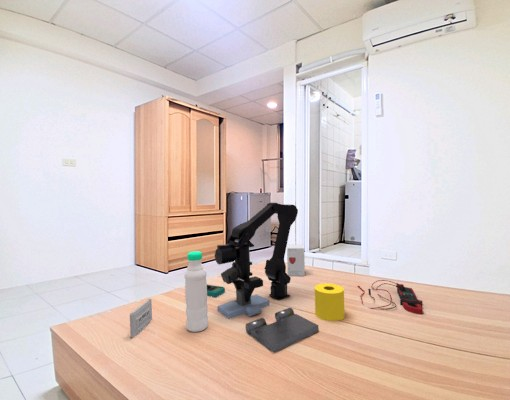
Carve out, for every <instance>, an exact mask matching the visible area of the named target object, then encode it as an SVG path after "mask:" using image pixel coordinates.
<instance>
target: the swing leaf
mask: <svg viewBox="0 0 510 400" xmlns="http://www.w3.org/2000/svg"><path fill="white" fill-rule="evenodd" d="M235 296H236V297H235V299H236V300H234V301H229V302H226V303H222V304H220V305H217V312H219V313H220V314H221V313H222V314H221V315H222V316H224V317H225V316H226V318H227V320H231V319H233V318H236V317H240V316H243V315H246V316H247V317H248V318H249V317H252V316H256V315H257V314H261V313H262V309H263V308H266V307H269V306H270V299H267V298H266V297H263V296H262V295H261V296H260V295H259V294H257V293H256V294H254V295H253V294H252V295H251V297H250V300H249V302H246V301H245V295H244V289H243V288H242V289H238V290H236V289H235ZM230 318H231V319H230Z"/></svg>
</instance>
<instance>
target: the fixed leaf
mask: <svg viewBox="0 0 510 400" xmlns="http://www.w3.org/2000/svg"><path fill="white" fill-rule="evenodd" d="M274 318H275V321H274V322H272V323H269V324H267V320H266V318H264V317H260V318H258V319H255V320H252V321H250V322H246V323H245V331H246V333H247V334H248V335H250V336H251V337H252V338H253V339H255V341H257V342H258V343H260V344H261V345H263V346H264V347H265V348H267V350H269V351H270V352H272V353H274V354H275V353H277V352H279V351H280V350H284V349H286V348H287V347H289V346H291V345H293V344H296V343H298V342H300V341H302V340H304V339H306V338H308V337H310V336H312V335H314V334H316V333H319V332H320V330H319V324H317V323H315V322H313V321H311V320H309V319H307V318H305V317H303V316H302V315H299V314H297V313H295V311H294V309H293V308H292V307H288V308H285V309H282V310H280V311H277V312H275V313H274Z"/></svg>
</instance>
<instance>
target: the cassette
mask: <svg viewBox="0 0 510 400" xmlns="http://www.w3.org/2000/svg"><path fill="white" fill-rule="evenodd" d="M152 303H153V302H152V298H148V299H147V300H146V301H145V302H143V303H142V304H141V305H139V306H138V307H137V308H136V309H134V310H133V311H132V312H130V313H129V327H130V328H129V330H130V331H129V332H130V333H129V335H130V338H131V339H134V338H135V337H136V336H138V335H139V334H140V333H141V332H142V331H143V330H144V329H145V328H146V327H148V325H150V324H151V322H152V321H153V309H152V308H153V307H152V305H153V304H152ZM151 320H152V321H151ZM150 321H151V322H150ZM149 323H150V324H149Z"/></svg>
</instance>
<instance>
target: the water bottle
mask: <svg viewBox="0 0 510 400" xmlns="http://www.w3.org/2000/svg"><path fill="white" fill-rule="evenodd" d="M202 261H203V253H202V251H198V250H197V251H196V250H195V251H190V252H188V253H187V262H188V265H187V267H186V270H185V272H184V279H185V280H184V281H185V283H184V284H185V285H184V290H185V291H184V294H185V295H184V297H185V304H186V306H185V307H186V308H185V317H186V320H185V322H186V329H187V330H188V331H189V332H192V333H193V332H194V333H196V332H197V333H198V332H202V331H203V330H205V329H207V328H208V326H209V316H208V314H209V313H208V310H209V309H208V296H207V285H208V284H207V271H206V269H205V267H204V265H203V264H202Z"/></svg>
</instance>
